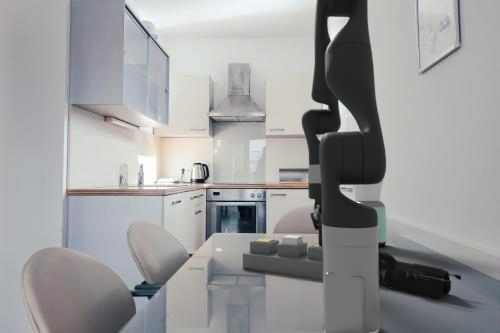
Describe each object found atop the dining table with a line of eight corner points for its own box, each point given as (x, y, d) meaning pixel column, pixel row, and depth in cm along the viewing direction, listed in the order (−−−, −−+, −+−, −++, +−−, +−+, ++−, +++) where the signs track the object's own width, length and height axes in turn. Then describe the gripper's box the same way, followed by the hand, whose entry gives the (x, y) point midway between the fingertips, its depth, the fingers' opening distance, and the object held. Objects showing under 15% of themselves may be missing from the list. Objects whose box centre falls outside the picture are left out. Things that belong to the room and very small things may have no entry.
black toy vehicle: (450, 308, 68) (449, 267, 68) (341, 278, 87) (342, 246, 87) (461, 299, 73) (461, 261, 73) (356, 273, 91) (356, 242, 91)
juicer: (374, 251, 119) (372, 151, 121) (340, 246, 129) (339, 154, 130) (398, 244, 132) (395, 154, 133) (365, 239, 142) (363, 156, 143)
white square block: (296, 249, 94) (296, 238, 94) (282, 248, 96) (282, 237, 96) (302, 247, 98) (302, 236, 98) (288, 245, 100) (288, 234, 100)
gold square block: (267, 252, 98) (267, 241, 98) (254, 251, 100) (254, 240, 101) (274, 250, 102) (274, 239, 102) (261, 248, 104) (261, 238, 104)
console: (331, 280, 85) (331, 251, 85) (242, 267, 98) (242, 243, 98) (344, 269, 95) (343, 244, 95) (262, 259, 108) (262, 237, 109)
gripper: (328, 181, 85) (329, 251, 85) (342, 181, 97) (343, 242, 96) (300, 181, 89) (301, 248, 89) (317, 181, 101) (318, 240, 100)
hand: (323, 245), depth 92 cm, fingers closed
